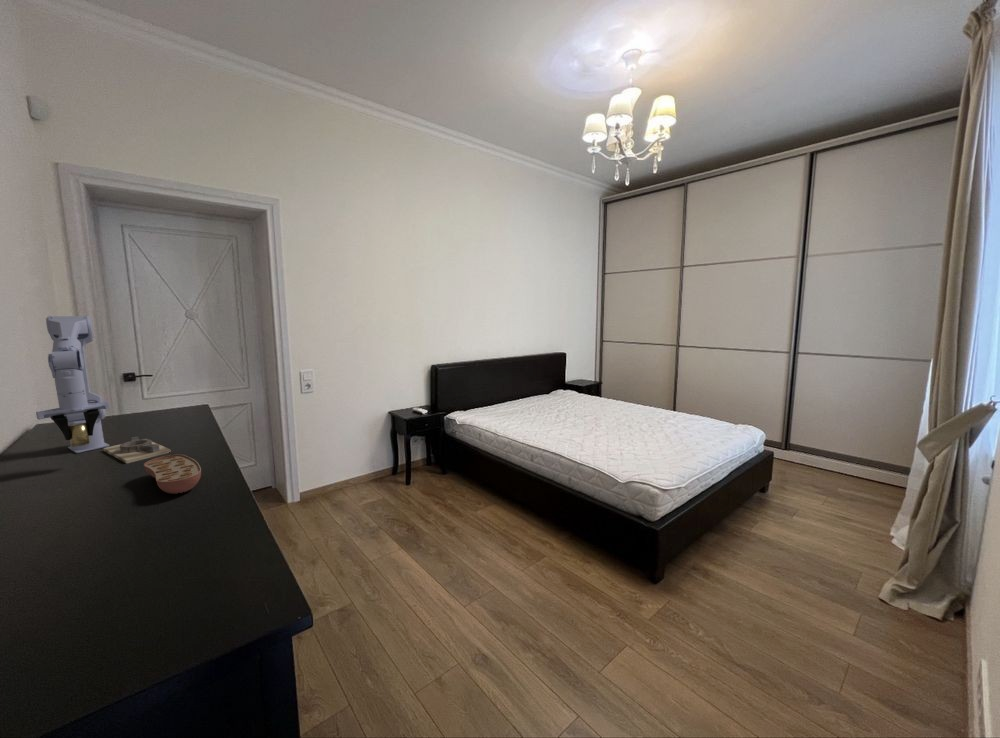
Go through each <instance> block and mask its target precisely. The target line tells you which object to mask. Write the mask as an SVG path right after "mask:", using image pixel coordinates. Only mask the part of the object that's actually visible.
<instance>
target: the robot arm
mask: <svg viewBox="0 0 1000 738" xmlns="http://www.w3.org/2000/svg"><path fill="white" fill-rule="evenodd" d="M45 323H46V324H45V325H46V329H47V333H48V335H49V336H50V339H51V340H52V342H53V343H52V352H51V353H48V354H47V362H48V367H49V369H50V372H51V375H52V378H53V379H54V386H55V388H56V389H55V390H56V396H57V401H58V402H57V403H58V407H56V408H52V409H48V410H47V409H46V410H41V411H36V412H35V414H36V415H35V416H36V419H37V420H45V419H49V418H50V419H51V420H52V422H54V424H55V425H56V426H57V427H58V429H60V431H61V433H62V434H63V436H64V439H65V440H66V441H70V440H71V437H70V433H69V429H68V425H71V424H75V423H87V427H88V433H89V439H90V443H89V444H86V445H82V446H75V447H72V446H71V445H70V446H69V445H68V446H67V448H68V449H69V450H70V451H72V452H74V453H75V454H79V453H84V452H88V451H93V450H98V449H102V448H103V449H104V448H106V447H110V444H109V443H106V442H105V439H104V432H103V426H102V420H104V419H105V418H106V410H108V409H110V407H111V406H110V402H108V401H104V398H103V397H102V396H101V395H100V394H97V393H94V392H93V391H91V390H90V382H89V381H90V380H89V379H90V378H89V373H88V371H89V370H88V365H87V357H86V351H85V350H86V346H87V344H89V343H91V342H92V343H93V341H94V340H93V339H94V330H93V329H94V328H93V322H92V318H91V317H90V316H89V315H79V316H77V315H75V316H73V315H62V316H61V315H59V316H58V315H57V316H52V315H48V316H47V317H46V318H45Z"/></svg>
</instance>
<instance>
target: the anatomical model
mask: <svg viewBox="0 0 1000 738" xmlns="http://www.w3.org/2000/svg"><path fill="white" fill-rule="evenodd" d="M143 468H144V470H145V472H146V473H147V474H148V475H149V476H151V477H152V478H155V481H156V485H157V486H158V488H159V489H160V490H162V491H163V492H164V493H167V494H171V495H178V493H180V494H184V493H186V492H189V491H190V490H191V489H193V488H194V487H195V486H197V484H198V483H199V481H200V479H201V477H202V468H201V466H200V464H199V462H198V461H197V460H195V459H194V458H192V457H190V456H187V455H185V454H169V455H163V456H159V457H154V458H153V459H152V458H151V459H150V460H148V461H146V462H144V464H143ZM183 492H184V493H183Z"/></svg>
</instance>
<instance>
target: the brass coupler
mask: <svg viewBox="0 0 1000 738" xmlns="http://www.w3.org/2000/svg"><path fill="white" fill-rule="evenodd" d="M68 429H69V433H70V437H71V440H69V443H70V446H72V447H75V446H82V445H86V444H89V443H90V439H89V433H88V427H87V423H75V424H71V425H68Z"/></svg>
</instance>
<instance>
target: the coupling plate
mask: <svg viewBox="0 0 1000 738" xmlns="http://www.w3.org/2000/svg"><path fill="white" fill-rule="evenodd" d="M139 437H140V436H132V437H131V440H130V441H129V440H128V441H126V442H123V443H120V444H117V445H115V444H114V445H111V446H107V447H103V452H105V453H106V454H109V455H110V456H112V457H114V458H116V459H117V460H120V461H121V462H123V463H125V464H130V463H134V462H139V461H142V460H146V459H150V458H155V457H158V456H162V455H167V454H169V452H170V453H171V449H170V448H168V447H166V446H163V445H161V444H159V443H157V442H154V441H152V439H150V438H142V439H140V438H139Z"/></svg>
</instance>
